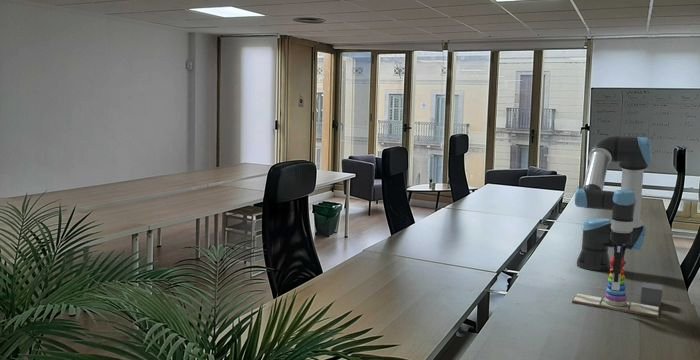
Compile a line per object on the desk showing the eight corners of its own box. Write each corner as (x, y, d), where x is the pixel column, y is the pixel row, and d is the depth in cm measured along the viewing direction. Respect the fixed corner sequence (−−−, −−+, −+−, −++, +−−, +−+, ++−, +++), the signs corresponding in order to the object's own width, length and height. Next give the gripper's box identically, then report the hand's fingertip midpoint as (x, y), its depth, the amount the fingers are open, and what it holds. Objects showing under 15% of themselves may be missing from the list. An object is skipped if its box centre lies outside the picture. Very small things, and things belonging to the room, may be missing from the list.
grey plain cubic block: (641, 299, 233) (642, 282, 232) (661, 302, 230) (662, 285, 229) (640, 304, 227) (641, 287, 226) (660, 307, 224) (662, 290, 223)
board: (576, 294, 236) (576, 292, 236) (659, 308, 222) (659, 306, 222) (572, 302, 227) (572, 300, 227) (658, 317, 213) (658, 315, 212)
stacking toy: (620, 300, 229) (624, 253, 226) (630, 307, 221) (634, 259, 218) (600, 299, 228) (604, 253, 226) (610, 306, 220) (614, 258, 218)
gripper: (613, 223, 233) (609, 274, 236) (607, 236, 212) (602, 292, 215) (634, 226, 230) (629, 277, 233) (630, 238, 208) (625, 295, 211)
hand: (616, 285), depth 224 cm, fingers open, 13 cm apart
